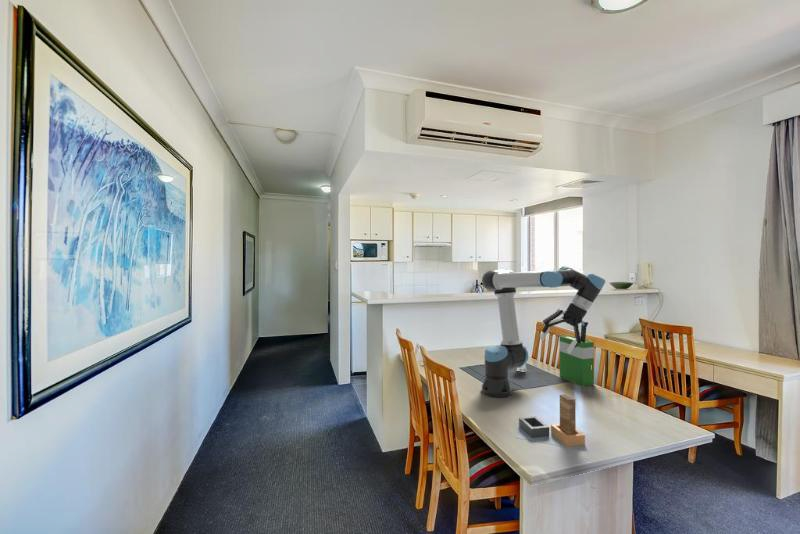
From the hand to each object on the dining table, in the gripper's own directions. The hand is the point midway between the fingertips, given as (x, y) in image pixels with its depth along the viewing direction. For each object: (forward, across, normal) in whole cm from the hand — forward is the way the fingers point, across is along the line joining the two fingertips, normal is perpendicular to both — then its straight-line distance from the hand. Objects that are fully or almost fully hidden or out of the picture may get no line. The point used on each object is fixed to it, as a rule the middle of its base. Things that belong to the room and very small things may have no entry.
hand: (554, 345), depth 154 cm
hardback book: (+21, +39, +35) cm, 57 cm away
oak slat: (+23, +6, -33) cm, 41 cm away
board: (+27, +2, -31) cm, 41 cm away
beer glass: (+35, +15, +49) cm, 62 cm away
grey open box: (+29, -3, -28) cm, 40 cm away
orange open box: (+23, +6, -33) cm, 41 cm away
